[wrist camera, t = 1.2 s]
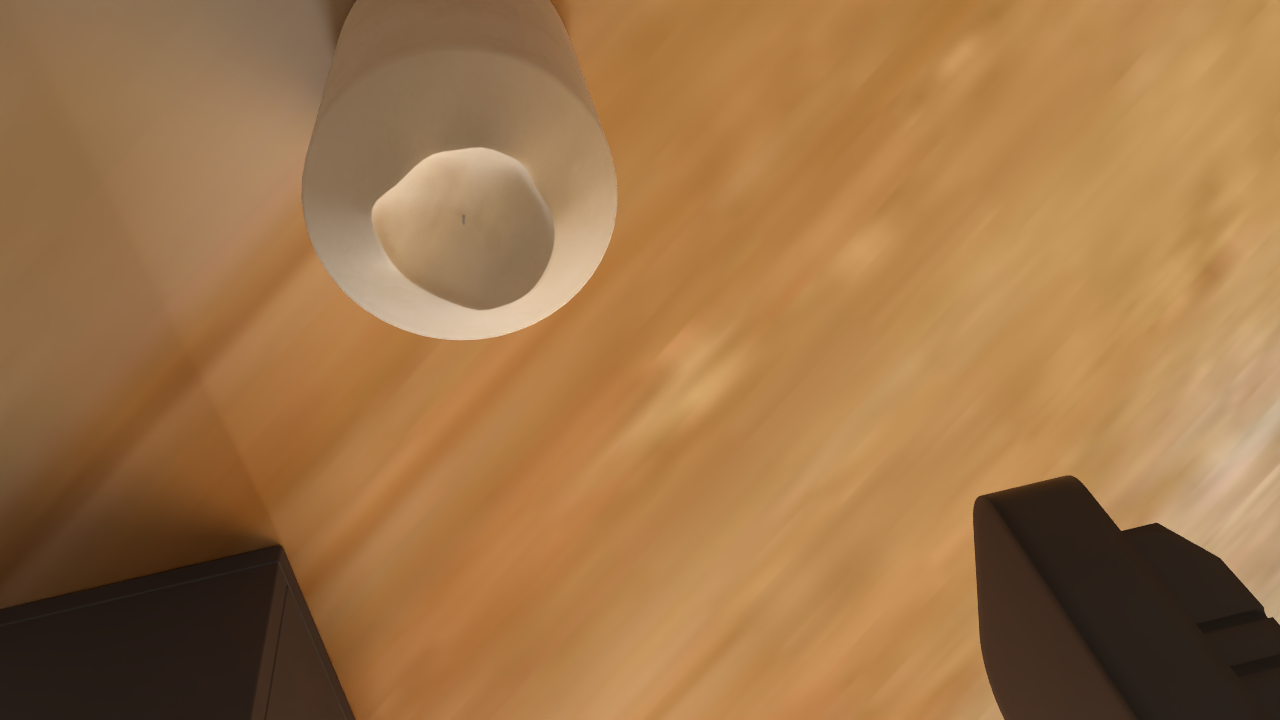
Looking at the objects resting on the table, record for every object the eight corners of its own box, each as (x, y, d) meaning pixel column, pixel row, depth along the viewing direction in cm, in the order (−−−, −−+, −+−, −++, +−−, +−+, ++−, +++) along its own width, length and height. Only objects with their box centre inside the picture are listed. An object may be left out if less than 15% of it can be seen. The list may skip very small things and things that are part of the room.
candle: (302, 122, 29) (244, 312, 20) (391, -97, 27) (369, 11, 18) (513, 212, 31) (542, 421, 22) (612, 14, 29) (686, 159, 20)
